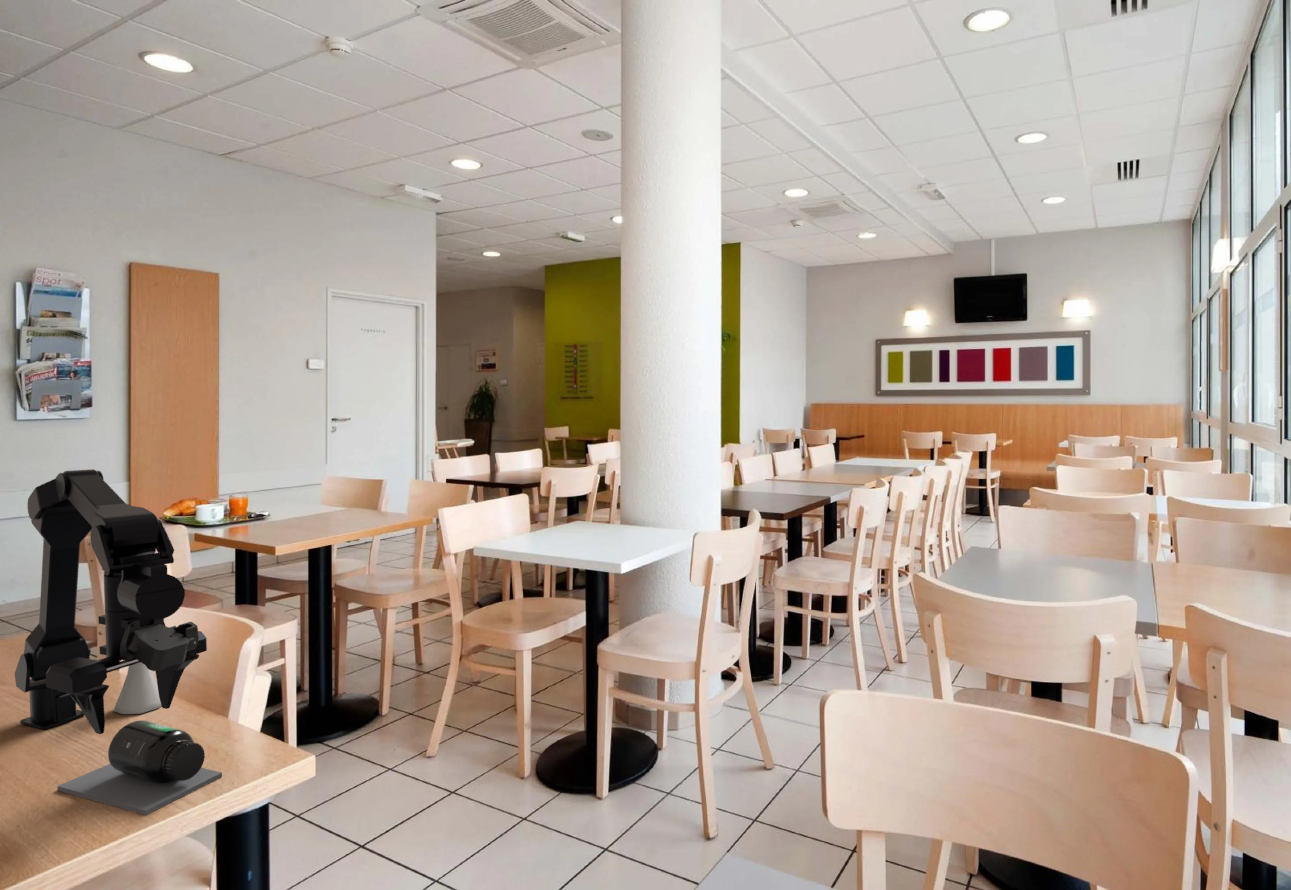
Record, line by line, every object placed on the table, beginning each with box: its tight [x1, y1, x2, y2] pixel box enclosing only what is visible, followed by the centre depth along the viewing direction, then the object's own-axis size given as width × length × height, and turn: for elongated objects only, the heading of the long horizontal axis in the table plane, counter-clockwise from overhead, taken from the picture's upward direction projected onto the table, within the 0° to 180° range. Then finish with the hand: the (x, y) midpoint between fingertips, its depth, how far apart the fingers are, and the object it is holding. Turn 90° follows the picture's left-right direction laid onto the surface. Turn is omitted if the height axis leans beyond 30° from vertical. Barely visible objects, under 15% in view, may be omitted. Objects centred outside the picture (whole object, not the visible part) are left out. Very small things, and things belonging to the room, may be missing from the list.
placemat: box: [56, 763, 223, 816], centre depth 107 cm, size 17×11×1 cm, turn 68°
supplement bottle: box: [107, 720, 206, 783], centre depth 108 cm, size 7×7×12 cm
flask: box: [113, 662, 162, 715], centre depth 134 cm, size 7×7×10 cm
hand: (134, 720), depth 107 cm, fingers open, 9 cm apart
